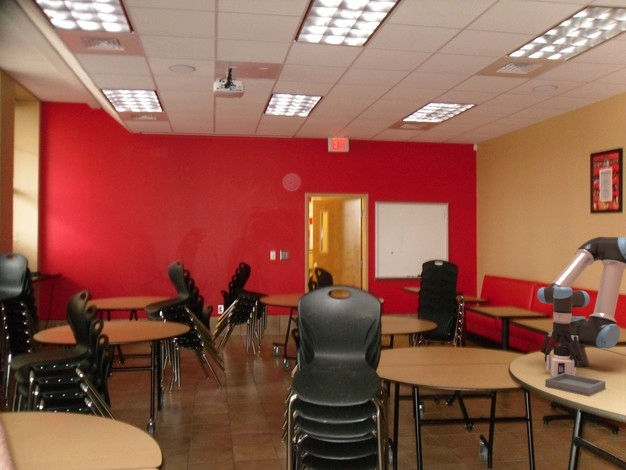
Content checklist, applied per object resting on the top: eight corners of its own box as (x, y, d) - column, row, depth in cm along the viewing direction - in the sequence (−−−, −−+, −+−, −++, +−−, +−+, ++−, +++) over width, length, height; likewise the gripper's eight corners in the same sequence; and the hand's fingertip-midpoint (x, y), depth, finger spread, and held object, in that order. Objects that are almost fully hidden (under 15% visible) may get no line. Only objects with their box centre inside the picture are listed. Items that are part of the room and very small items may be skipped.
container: (572, 379, 240) (573, 349, 240) (553, 377, 242) (554, 348, 242) (568, 374, 248) (568, 345, 248) (549, 373, 249) (550, 344, 249)
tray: (563, 379, 238) (563, 373, 238) (605, 388, 226) (605, 381, 226) (545, 386, 227) (545, 379, 227) (588, 396, 214) (588, 388, 214)
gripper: (533, 319, 251) (532, 368, 251) (585, 326, 233) (584, 378, 233) (540, 318, 256) (539, 365, 256) (592, 324, 238) (591, 375, 239)
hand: (561, 371), depth 245 cm, fingers closed on container, 10 cm apart
